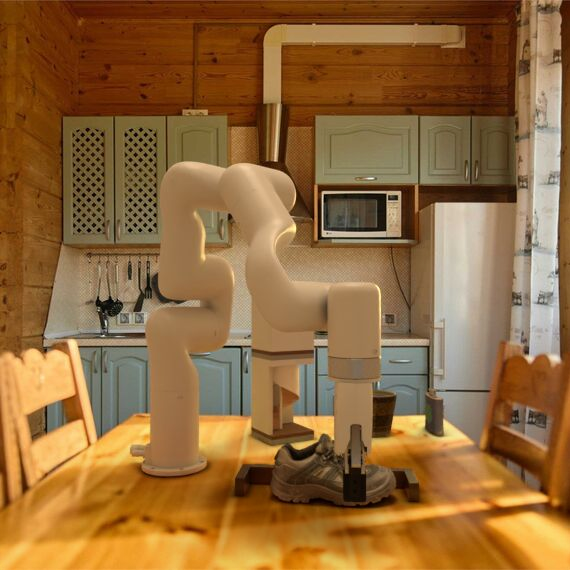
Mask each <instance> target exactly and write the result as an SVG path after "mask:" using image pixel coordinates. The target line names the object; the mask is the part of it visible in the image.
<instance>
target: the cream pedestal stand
mask: <svg viewBox="0 0 570 570" xmlns="http://www.w3.org/2000/svg"><path fill="white" fill-rule="evenodd" d="M250 296H251V295H250ZM250 298H251V301H250V303H251V309H250V310H251V314H250V315H251V321H250V322H251V324H250V325H251V329H250V331H251V336H250V337H251V340H250V341H251V343H250V344H251V345H250V347H251V348H250V349H251V352H250V353H251V355H250V357H251V358H250V360H251V361H250V362H251V365H250V367H251V368H250V369H251V370H250V373H251V375H250V377H251V379H250V386H251V387H250V388H251V389H250V397H251V398H250V402H251V403H250V413H251V414H250V415H251V416H250V418H251V419H250V433H251V434H250V435H251V436H252V437H254V438H256V439H257V440H260V441H262V442H264V443H266V444H268V445H270V446H276V445H285V444H287V443H289V444H291V443H297V442H304V441H310V440H311V441H312V440H314V439H315V430H314V429H312V428H309V427H308V426H307V427H306V426H304V425H303V424H299V423H297V422H294V404H295V403H297V402H298V401H299V400H300V367H299V366H302V365H303V366H304V365H314V364H315V331H306V332H281V331H278V330H276V329H274V328H273V327H272V326H270V325H269V324H268V323H267V322H266V320H265V319H264V318H263V316H262V315H261V313H260V311H259V310H258V308H257V306H256V304H255V302H254V300H253V298H252V296H251V297H250Z"/></svg>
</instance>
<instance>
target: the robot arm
mask: <svg viewBox="0 0 570 570" xmlns="http://www.w3.org/2000/svg"><path fill="white" fill-rule="evenodd" d="M159 187H160V188H159V198H158V199H159V210H160V218H161V236H160V237H161V238H160V246H159V247H160V248H159V260H158V261H159V262H158V273H157V287H158V290H159V293H160V294H161V296H162V297H164V298H166V299H168V300H172V301H173V300H174V301H199V306H189V305H188V306H165V307H162V308H159V309H157V310H155V311H153V312H151V314H150V315H149V316H148V318H147V320H146V322H145V326H144V334H145V341H146V346H147V352H148V353H147V354H148V357H149V358H148V360H149V384H150V385H149V389H150V390H149V391H150V392H149V394H150V395H149V396H150V397H149V399H150V400H149V412H150V413H149V443H146V444H144V445H143V444H133V443H132V444H131V445H130V447H129V454H130V455H131V457H133V458H139V457H142V458H143V459H144V460H142V462H141V470H142V471H143V473H146V475H151V476H156V477H180V476H187V475H192V474H195V473H199V472H200V471H202V470H204V469H205V468H206V467H207V464H208V462H207V458H206V457H205V456H204V455H202V454H200V376H199V372H198V369H197V367H196V365H195V364H194V362H193V359H191V357H190V355H192V354H199V353H200V354H202V353H203V354H204V353H212V352H217V351H219V350H221V349H223V348H224V346H225V345H226V344H227V342H228V340H229V336H230V331H231V326H232V315H233V307H234V297H235V296H234V294H235V285H236V282H235V281H236V280H235V273H234V270H233V268H232V265H231V264H230V262H229V261H228V260H227V259H226V258H225V257H223V256H220V255H217V254H209V253H208V254H207V253H206V252H205V248H206V246H205V245H206V236H207V233H206V227H205V225H204V222H203V219H202V218H201V215H200V214H199V212H198V211H197V210H205V211H211V212H217V213H224V214H230V215H231V217H232V219H233V220H234V221H235V224H236V225H237V227H238V230H239V231H240V233H241V235H242V237H243V238H244V240H245V242H246V243H247V245H248V251H247V253H246V258H245V267H244V274H245V283H246V287H247V291H248V293H249V295H250V296H252V298H253V300H254V302H255V304H256V306H257V308H258V310H259V311H260V313H261V315H262V316H263V318H264V319H265V320H266V322H267V323H268V324H269V325H270V326H272V327H273V328H274V329H276V330H278V331H281V332H306V331H314V332H324V331H327V380H328V381H331V382H333V383H334V391H333V393H334V394H333V440H334V448H335V453H336V454H337V455H338V456H340V454H341V453H344V468H345V469H343V500H344V501H345V502H366V470H365V465H366V462H365V461H366V457H368V456H370V455H371V454H372V444H373V443H372V442H373V437H372V419H373V390H374V387H373V384H374V383H377V382H381V381H382V301H381V300H382V297H381V296H382V295H381V289H380V288H379V286H378V285H377V284H375V283H374V282H367V281H341V282H335V283H334V282H328V281H327V282H326V281H310V280H308V281H307V280H291V279H290V277H289V276H288V274H287V272H286V271H285V269H284V267H283V266H282V263H281V262H280V260H279V258H278V255H277V254H279V253H280V252H282V251H283V250H285V249H286V248H287V247H288V246H289V245H290V244H291V243H292V242H293V240H294V238H295V236H296V234H297V225H296V222H295V221H294V219H293V217H292V216H291V215H290V212H291V211H292V210H293V208H294V206H295V204H296V201H297V200H296V198H297V191H296V187H295V184H294V182H293V180H292V179H291V177H290V176H289V175H288V174H287V173H285V172H284V171H281V170H279V169H275V168H270V167H268V166H262V165H258V164H254V163H249V162H239V163H235V164H231V165H230V166H228V167H227V168H226V167H222V166H219V165H214V164H209V163H205V162H199V161H192V160H191V161H190V160H189V161H187V160H186V161H180V162H176V163H174V164H173V165H172V166H170V167H169V168H168V170H167V171H166V172H165V173H164V175H163V178H162V180H161V182H160V186H159Z"/></svg>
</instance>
